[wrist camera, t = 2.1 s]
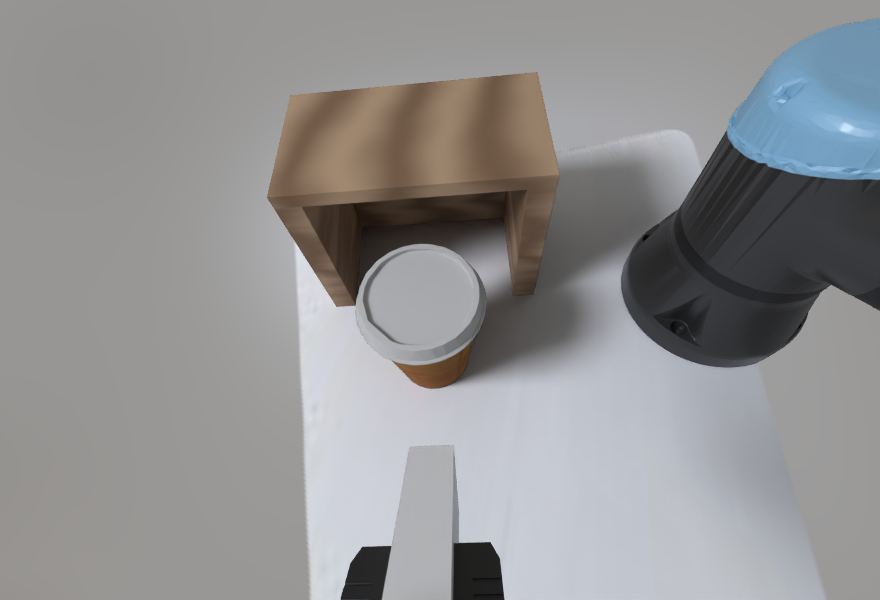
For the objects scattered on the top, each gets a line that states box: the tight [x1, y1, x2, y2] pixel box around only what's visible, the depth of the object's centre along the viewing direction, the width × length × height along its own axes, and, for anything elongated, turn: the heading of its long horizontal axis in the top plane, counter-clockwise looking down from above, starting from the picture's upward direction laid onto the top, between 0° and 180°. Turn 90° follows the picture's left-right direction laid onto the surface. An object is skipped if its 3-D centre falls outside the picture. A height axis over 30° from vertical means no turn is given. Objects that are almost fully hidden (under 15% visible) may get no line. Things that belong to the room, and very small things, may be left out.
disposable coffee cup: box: [355, 244, 486, 389], centre depth 35 cm, size 10×10×12 cm
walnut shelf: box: [267, 72, 560, 307], centre depth 39 cm, size 20×11×16 cm, turn 91°
